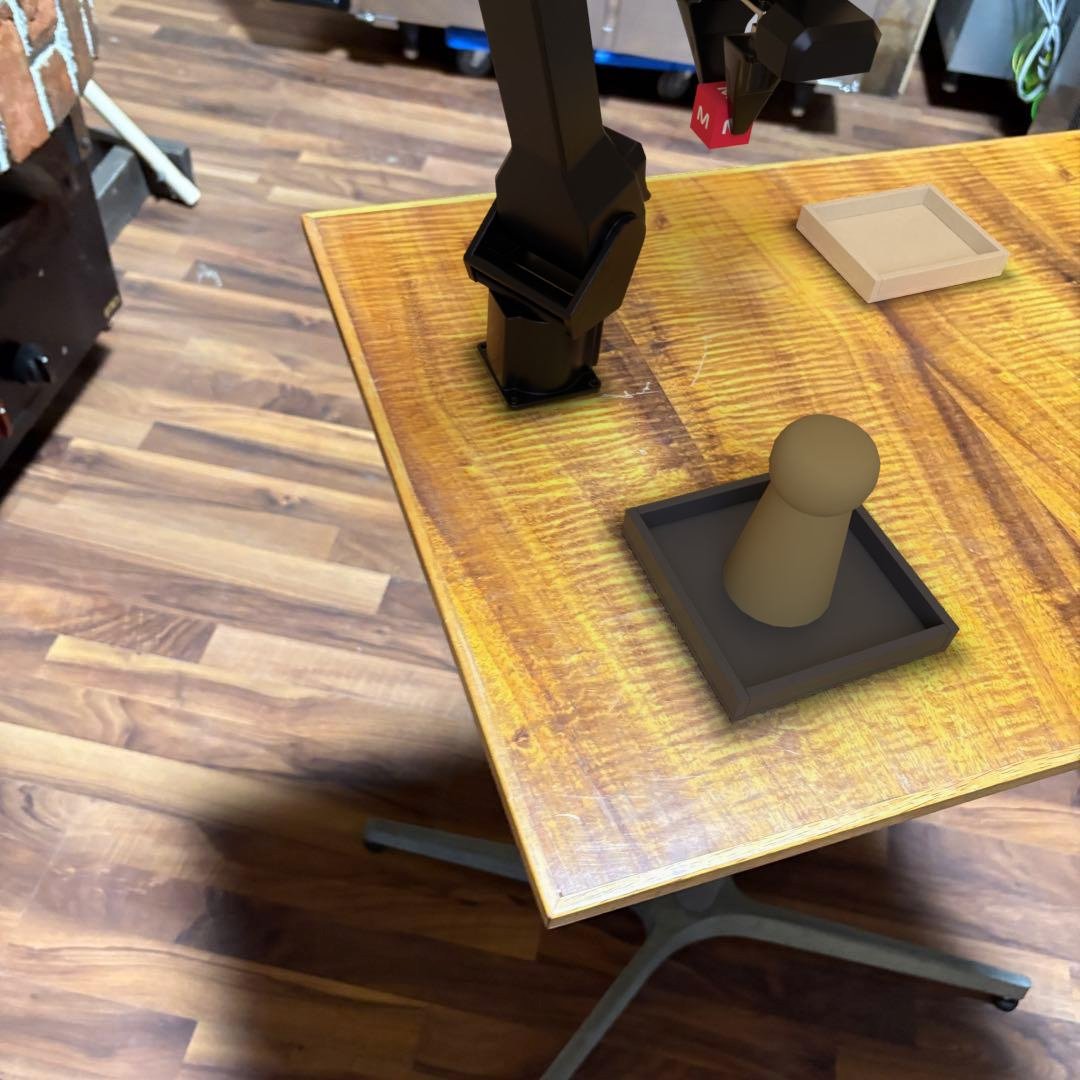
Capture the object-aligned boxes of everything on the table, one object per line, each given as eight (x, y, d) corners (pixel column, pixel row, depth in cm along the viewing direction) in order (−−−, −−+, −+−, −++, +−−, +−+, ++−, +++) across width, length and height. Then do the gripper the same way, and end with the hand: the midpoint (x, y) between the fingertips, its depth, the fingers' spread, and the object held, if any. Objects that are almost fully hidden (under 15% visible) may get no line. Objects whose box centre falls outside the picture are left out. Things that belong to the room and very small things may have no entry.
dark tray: (731, 722, 51) (740, 701, 49) (620, 531, 59) (625, 508, 57) (946, 650, 55) (960, 628, 53) (816, 480, 62) (825, 457, 61)
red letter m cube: (748, 144, 69) (759, 101, 67) (709, 149, 68) (718, 106, 66) (728, 121, 71) (737, 79, 68) (689, 127, 70) (697, 84, 68)
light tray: (867, 303, 75) (876, 280, 73) (795, 227, 81) (802, 204, 79) (1000, 275, 78) (1011, 253, 77) (922, 204, 84) (931, 182, 83)
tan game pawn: (830, 637, 54) (900, 496, 46) (717, 614, 55) (766, 470, 46) (832, 552, 58) (897, 408, 50) (727, 531, 58) (773, 385, 50)
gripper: (1005, -96, 54) (905, 175, 66) (815, -205, 65) (759, 46, 76) (827, -80, 51) (755, 202, 62) (658, -197, 61) (625, 63, 73)
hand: (725, 121), depth 69 cm, fingers closed on red letter m cube, 3 cm apart
